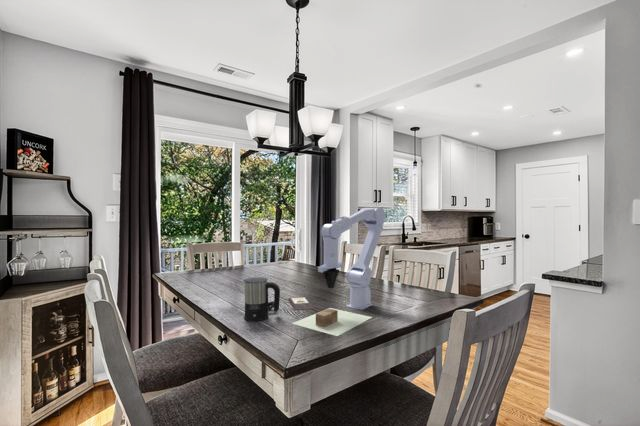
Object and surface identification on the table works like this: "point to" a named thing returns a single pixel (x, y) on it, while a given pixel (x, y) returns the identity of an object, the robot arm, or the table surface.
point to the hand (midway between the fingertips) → (330, 287)
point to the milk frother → (259, 298)
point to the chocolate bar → (301, 303)
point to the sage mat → (342, 325)
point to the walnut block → (326, 317)
